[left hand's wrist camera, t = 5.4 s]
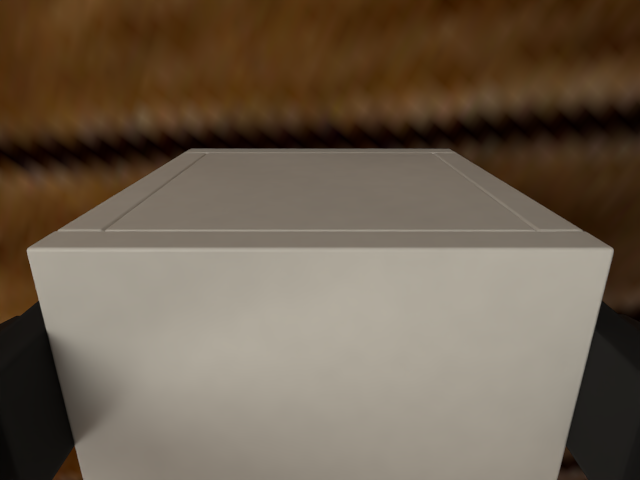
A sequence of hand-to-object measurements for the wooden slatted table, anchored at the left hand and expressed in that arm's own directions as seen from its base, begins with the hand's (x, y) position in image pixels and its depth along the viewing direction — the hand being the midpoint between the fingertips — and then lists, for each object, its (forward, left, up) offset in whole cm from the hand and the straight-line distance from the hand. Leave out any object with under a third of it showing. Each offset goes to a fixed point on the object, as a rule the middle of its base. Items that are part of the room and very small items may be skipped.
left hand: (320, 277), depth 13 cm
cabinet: (+1, +5, -5) cm, 8 cm away
